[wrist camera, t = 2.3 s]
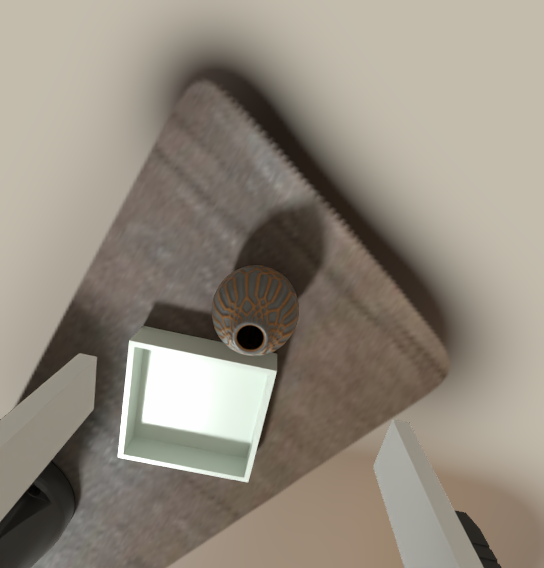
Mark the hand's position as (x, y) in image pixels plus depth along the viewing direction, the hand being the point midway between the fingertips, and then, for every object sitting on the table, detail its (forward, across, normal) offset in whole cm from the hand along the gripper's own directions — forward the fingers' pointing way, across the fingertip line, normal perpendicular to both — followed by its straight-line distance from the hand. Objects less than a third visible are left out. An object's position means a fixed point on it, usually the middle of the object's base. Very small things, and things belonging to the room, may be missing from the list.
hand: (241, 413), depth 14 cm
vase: (+16, 0, 0) cm, 16 cm away
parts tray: (+16, -4, -12) cm, 20 cm away
